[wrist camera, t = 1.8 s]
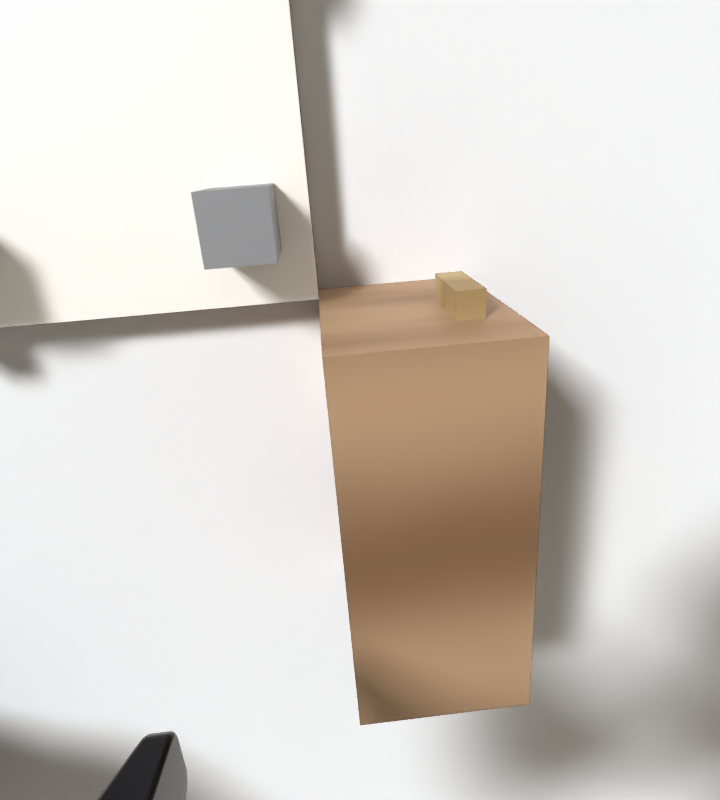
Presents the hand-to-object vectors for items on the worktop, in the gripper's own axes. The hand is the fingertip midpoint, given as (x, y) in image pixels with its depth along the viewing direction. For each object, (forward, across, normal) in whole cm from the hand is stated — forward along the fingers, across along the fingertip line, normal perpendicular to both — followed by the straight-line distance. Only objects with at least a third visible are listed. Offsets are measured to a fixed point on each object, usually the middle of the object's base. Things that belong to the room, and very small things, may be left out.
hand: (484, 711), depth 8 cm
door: (+10, 0, 0) cm, 10 cm away
